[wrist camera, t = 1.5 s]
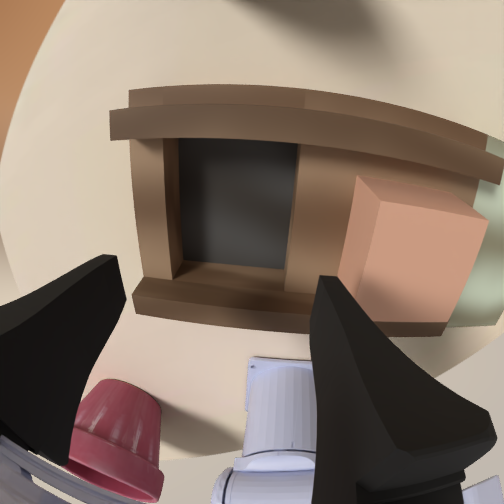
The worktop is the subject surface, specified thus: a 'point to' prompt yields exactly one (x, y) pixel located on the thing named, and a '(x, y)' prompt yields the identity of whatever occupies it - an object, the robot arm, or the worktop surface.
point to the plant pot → (118, 441)
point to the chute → (287, 198)
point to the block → (408, 250)
